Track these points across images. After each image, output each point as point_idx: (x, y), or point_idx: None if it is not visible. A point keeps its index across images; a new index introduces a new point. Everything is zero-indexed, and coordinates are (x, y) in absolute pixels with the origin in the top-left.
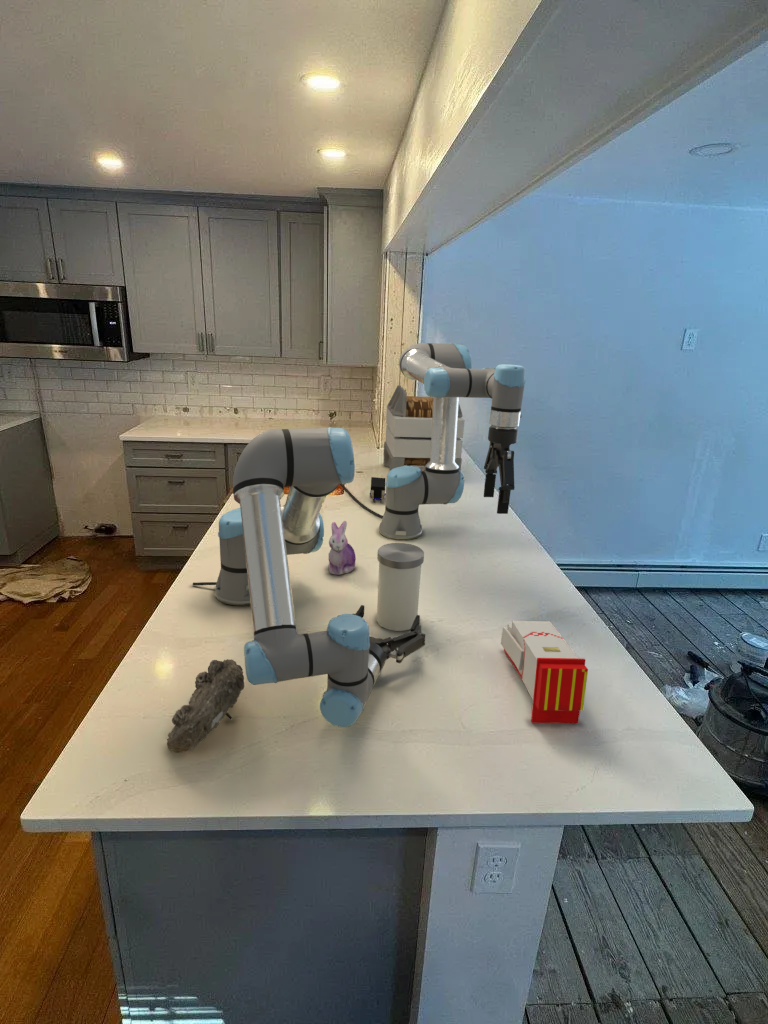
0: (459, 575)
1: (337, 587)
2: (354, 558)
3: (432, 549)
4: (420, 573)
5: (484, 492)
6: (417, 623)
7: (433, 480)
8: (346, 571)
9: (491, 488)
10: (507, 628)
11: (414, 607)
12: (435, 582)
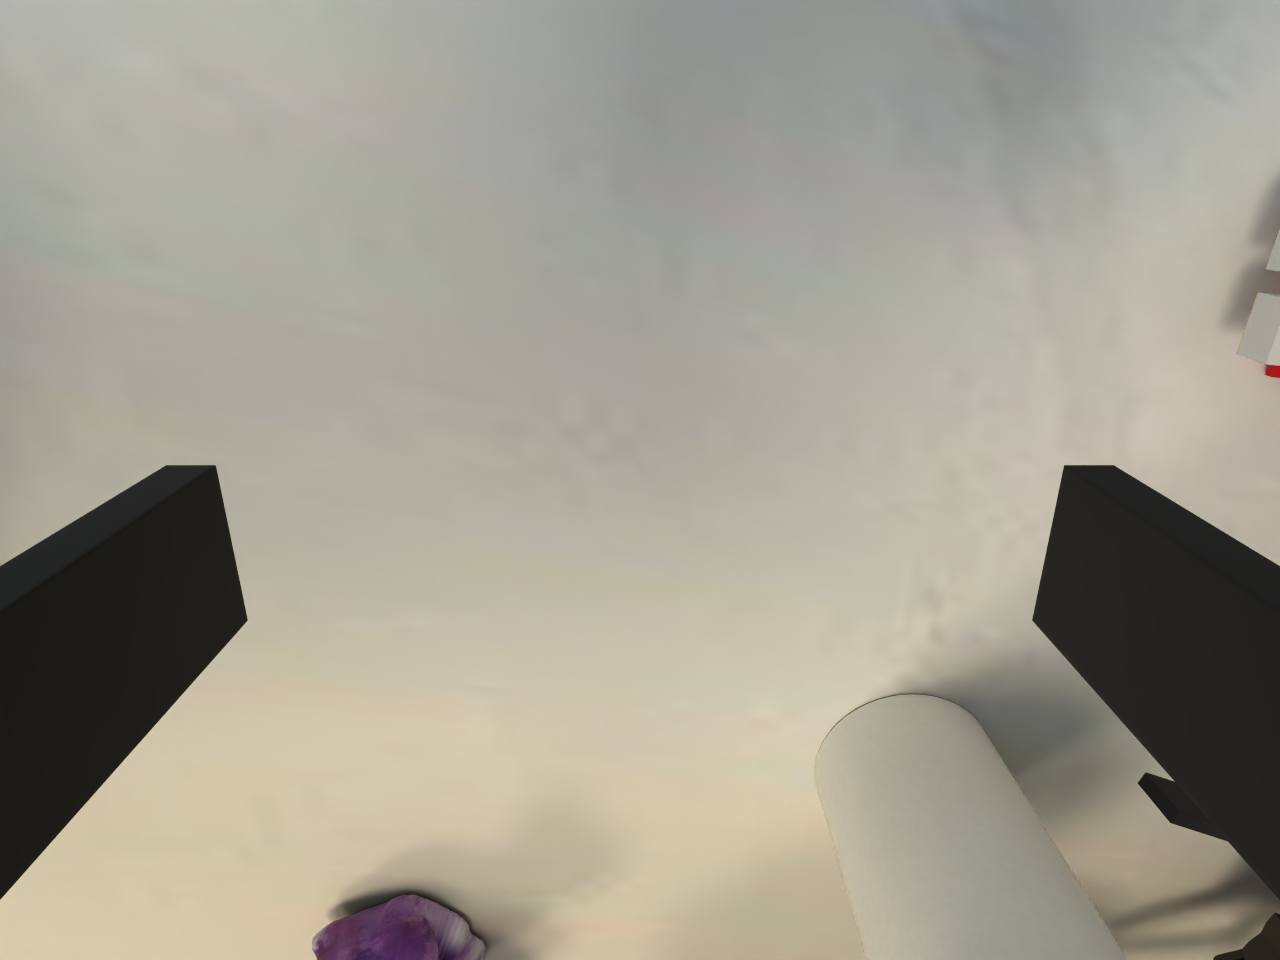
0: (434, 410)
1: (600, 948)
2: (407, 945)
3: (66, 503)
4: (1060, 908)
5: (194, 666)
6: None
7: None
8: (464, 929)
9: (125, 600)
10: (1249, 357)
11: (1017, 787)
12: (535, 559)
